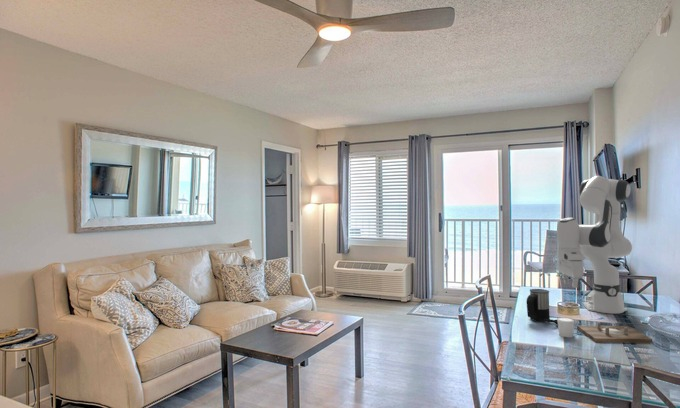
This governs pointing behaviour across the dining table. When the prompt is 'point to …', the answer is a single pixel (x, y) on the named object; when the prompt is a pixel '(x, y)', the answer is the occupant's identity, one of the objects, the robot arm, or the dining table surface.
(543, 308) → the milk frother
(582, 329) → the pin board
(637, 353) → the dining table surface
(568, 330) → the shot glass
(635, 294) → the dining table surface
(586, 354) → the dining table surface
